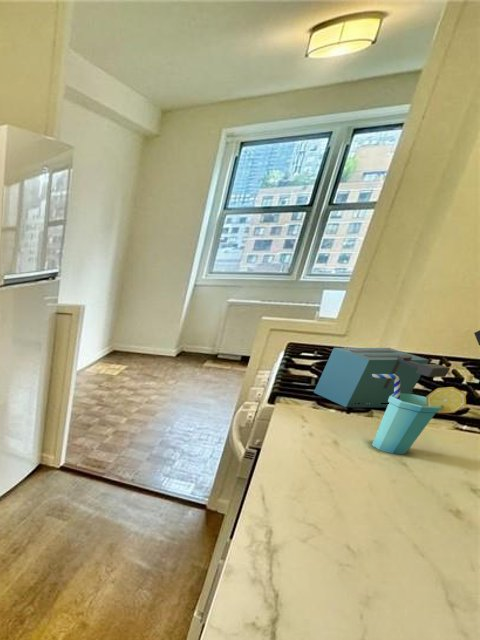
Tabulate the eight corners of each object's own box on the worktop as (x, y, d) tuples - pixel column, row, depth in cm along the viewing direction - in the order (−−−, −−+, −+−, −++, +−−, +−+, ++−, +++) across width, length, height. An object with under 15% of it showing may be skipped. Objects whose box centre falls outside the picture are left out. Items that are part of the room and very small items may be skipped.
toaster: (366, 392, 126) (391, 343, 120) (409, 410, 116) (438, 357, 110) (313, 392, 126) (335, 343, 120) (351, 410, 116) (377, 357, 110)
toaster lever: (405, 364, 112) (410, 355, 111) (445, 377, 104) (450, 368, 103) (390, 364, 112) (394, 355, 111) (428, 376, 104) (433, 368, 103)
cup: (342, 445, 99) (377, 376, 92) (336, 432, 105) (369, 366, 98) (436, 464, 93) (482, 391, 86) (424, 448, 98) (466, 378, 91)
